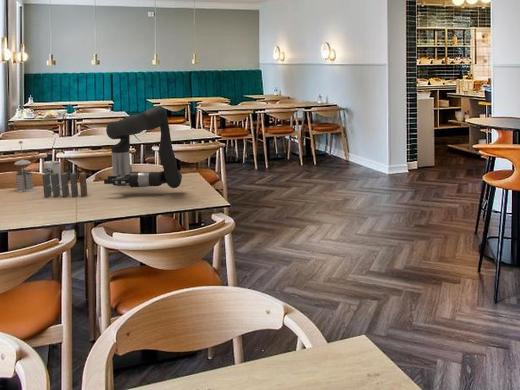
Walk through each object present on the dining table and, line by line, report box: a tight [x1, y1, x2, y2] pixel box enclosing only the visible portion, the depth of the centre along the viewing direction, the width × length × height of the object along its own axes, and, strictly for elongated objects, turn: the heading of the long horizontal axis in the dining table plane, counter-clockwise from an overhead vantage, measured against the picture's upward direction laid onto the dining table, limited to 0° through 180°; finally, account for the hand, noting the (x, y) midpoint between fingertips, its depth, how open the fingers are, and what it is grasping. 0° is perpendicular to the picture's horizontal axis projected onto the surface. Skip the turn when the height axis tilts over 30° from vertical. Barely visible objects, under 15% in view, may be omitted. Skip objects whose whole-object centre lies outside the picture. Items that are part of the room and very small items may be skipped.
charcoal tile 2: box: [69, 172, 79, 198], centre depth 270 cm, size 2×5×11 cm, turn 3°
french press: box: [13, 140, 36, 192], centre depth 284 cm, size 10×12×25 cm
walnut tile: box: [78, 171, 88, 198], centre depth 271 cm, size 2×5×11 cm, turn 3°
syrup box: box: [43, 160, 62, 192], centre depth 285 cm, size 6×6×14 cm
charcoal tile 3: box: [61, 172, 70, 198], centre depth 270 cm, size 2×5×11 cm, turn 3°
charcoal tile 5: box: [41, 172, 52, 198], centre depth 270 cm, size 2×5×11 cm, turn 3°
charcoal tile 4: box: [52, 173, 61, 198], centre depth 270 cm, size 2×5×11 cm, turn 3°
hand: (106, 180), depth 271 cm, fingers open, 8 cm apart
